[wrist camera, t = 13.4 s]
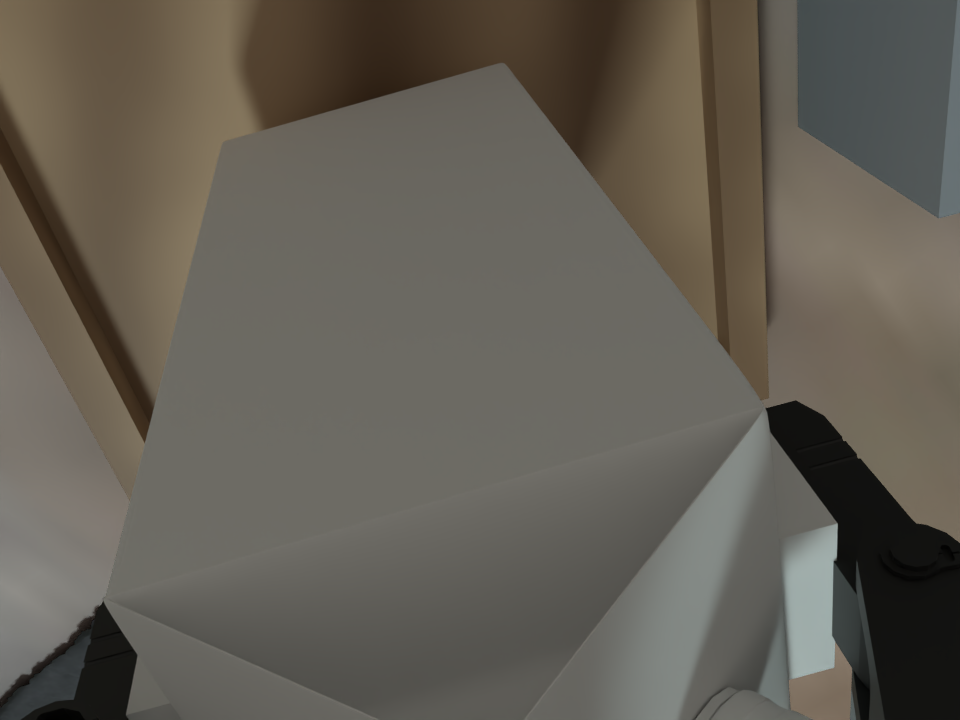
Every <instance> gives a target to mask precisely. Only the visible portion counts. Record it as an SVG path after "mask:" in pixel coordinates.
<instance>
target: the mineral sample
mask: <svg viewBox="0 0 960 720" xmlns="http://www.w3.org/2000/svg"><path fill="white" fill-rule="evenodd" d="M93 624H94V620H93V621H92V625H91V627H92V628H93ZM92 628H91V629H86V631H82V634H80V635H79V636H78V638H77V639H76V640H75V641H74V643H75V645H73V646H71V647H70V648H69V649H68V650H67V651H66V654H63V655H60V656H58V658H56V659H54V660H53V661H51V662H52V663H51V664H49V665H48V666H45V668H43V670H42V672H40V673H38V674H34V678H31V679H30V680H29V682H30V684H29V685H26V686H22V687H19V688H18V689H17V690H16V691H15V692H14V693H13V694H12V695H13V696H12V697H9V698H7V699H8V700H9V701H8V702H7V703H5V704H4V705H2V707H1V708H0V720H21V719H22V718H24V717H25V716H26V715H28V714H29V713H31V712H32V711H34V710H35V709H38V708H40V707H43V706H45V705H48V704H50V703H53V702H55V701H63V700H74V697H75V693H76V689H77V685H78V682H79V678H80V674H81V670H82V668H84V663H83V662H84V659H85V655H86V651H87V647H88V645H90V636H91V632H92Z"/></svg>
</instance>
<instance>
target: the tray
mask: <svg viewBox="0 0 960 720" xmlns="http://www.w3.org/2000/svg"><path fill="white" fill-rule="evenodd" d="M498 63H504V64H506V65H507V66H508V68H509V69H510V70H511V72H512V73H513V74H514V75H515V77H516V78H517V79H518V81H519V82H520V83H521V85H522V86H523V87H524V89H525V90H526V91H527V92H528V94H529V95H530V96H531V98H532V99H533V100H534V102H535V103H536V104H537V105H538V107H539V108H540V109H541V111H542V112H543V113H544V115H545V116H546V117H547V118H548V120H549V121H550V122H551V124H552V125H553V126H554V128H555V129H556V130H557V131H558V133H559V134H560V135H561V137H562V138H563V139H564V141H565V142H566V143H567V145H568V146H569V147H570V148H571V150H572V151H573V152H574V154H575V155H576V156H577V158H578V159H579V160H580V161H581V163H582V164H583V165H584V167H585V168H586V169H587V171H588V172H589V173H590V174H591V176H592V177H593V178H594V180H595V181H596V182H597V184H598V185H599V186H600V187H601V189H602V190H603V191H604V193H605V194H606V195H607V197H608V198H609V199H610V201H611V202H612V203H613V204H614V206H615V207H616V208H617V210H618V211H619V212H620V214H621V215H622V216H623V217H624V219H625V220H626V221H627V223H628V224H629V225H630V227H631V228H632V229H633V230H634V232H635V233H636V234H637V236H638V237H639V238H640V240H641V241H642V242H643V243H644V245H645V246H646V247H647V249H648V250H649V251H650V253H651V254H652V255H653V257H654V258H655V259H656V260H657V262H658V263H659V264H660V266H661V267H662V268H663V270H664V271H665V272H666V273H667V275H668V276H669V277H670V279H671V280H672V281H673V283H674V284H675V285H676V286H677V288H678V289H679V290H680V292H681V293H682V294H683V296H684V297H685V298H686V299H687V301H688V302H689V303H690V305H691V306H692V307H693V309H694V310H695V311H696V313H697V314H698V315H699V316H700V318H701V319H702V320H703V322H704V323H705V324H706V326H707V327H708V328H709V329H710V331H711V332H712V333H713V335H714V336H715V337H716V339H717V340H718V341H719V343H720V344H721V345H722V347H723V348H724V349H725V350H726V352H727V353H728V354H729V356H730V357H731V359H732V360H733V361H734V363H735V364H736V365H737V367H738V368H739V369H740V371H741V372H742V373H743V375H744V376H745V378H746V379H747V380H748V382H749V383H750V385H751V386H752V388H753V389H754V390H755V392H756V394H757V395H758V397H759V398H760V400H764V399H768V398H769V386H768V352H767V318H766V284H765V250H764V216H763V182H762V148H761V113H760V79H759V45H758V11H757V0H0V266H1V268H2V270H3V272H4V274H5V276H6V277H7V279H8V281H9V283H10V285H11V286H12V288H13V290H14V292H15V294H16V295H17V297H18V299H19V301H20V303H21V305H22V306H23V308H24V310H25V312H26V314H27V315H28V317H29V319H30V321H31V323H32V324H33V326H34V328H35V330H36V332H37V334H38V335H39V337H40V339H41V341H42V343H43V344H44V346H45V348H46V350H47V352H48V353H49V355H50V357H51V359H52V361H53V363H54V364H55V366H56V368H57V370H58V372H59V373H60V375H61V377H62V379H63V381H64V382H65V384H66V386H67V388H68V390H69V391H70V393H71V395H72V397H73V399H74V401H75V402H76V404H77V406H78V408H79V410H80V411H81V413H82V415H83V417H84V419H85V420H86V422H87V424H88V426H89V428H90V430H91V431H92V433H93V435H94V437H95V439H96V440H97V442H98V444H99V446H100V448H101V449H102V451H103V453H104V455H105V457H106V459H107V460H108V462H109V464H110V466H111V468H112V469H113V471H114V473H115V475H116V477H117V478H118V480H119V482H120V484H121V486H122V488H123V489H124V491H125V493H126V495H127V497H128V498H129V500H130V499H131V495H132V492H133V488H134V484H135V480H136V476H137V472H138V468H139V464H140V460H141V457H142V453H143V449H144V445H145V441H146V437H147V433H148V429H149V425H150V422H151V418H152V414H153V410H154V406H155V402H156V398H157V394H158V390H159V386H160V383H161V379H162V375H163V371H164V367H165V363H166V359H167V355H168V351H169V348H170V344H171V340H172V336H173V332H174V328H175V324H176V320H177V316H178V312H179V309H180V305H181V301H182V297H183V293H184V289H185V285H186V281H187V277H188V274H189V270H190V266H191V262H192V258H193V254H194V250H195V246H196V242H197V238H198V235H199V231H200V227H201V223H202V219H203V215H204V211H205V207H206V203H207V200H208V196H209V192H210V188H211V184H212V180H213V176H214V172H215V168H216V164H217V161H218V157H219V153H220V149H221V146H222V143H223V142H225V141H227V140H231V139H234V138H238V137H241V136H245V135H248V134H252V133H255V132H259V131H262V130H266V129H269V128H273V127H276V126H280V125H283V124H287V123H290V122H294V121H297V120H301V119H304V118H308V117H311V116H315V115H318V114H322V113H325V112H329V111H332V110H336V109H340V108H343V107H347V106H350V105H354V104H357V103H361V102H364V101H368V100H371V99H375V98H378V97H382V96H385V95H389V94H392V93H396V92H399V91H403V90H406V89H410V88H413V87H417V86H420V85H424V84H427V83H431V82H435V81H438V80H442V79H445V78H449V77H452V76H456V75H459V74H463V73H466V72H470V71H473V70H477V69H480V68H484V67H487V66H491V65H494V64H498Z"/></svg>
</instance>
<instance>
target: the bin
mask: <svg viewBox="0 0 960 720" xmlns="http://www.w3.org/2000/svg"><path fill="white" fill-rule="evenodd" d="M798 127H799V128H801V129H803V130H804V131H806V132H807V133H809V134H810V135H812V136H813V137H815V138H816V139H818V140H819V141H821V142H822V143H824V144H826V145H827V146H829V147H830V148H832V149H833V150H835V151H836V152H838V153H839V154H841V155H842V156H844V157H845V158H847V159H848V160H850V161H852V162H853V163H855V164H856V165H858V166H859V167H861V168H862V169H864V170H865V171H867V172H868V173H870V174H871V175H873V176H875V177H876V178H878V179H879V180H881V181H882V182H884V183H885V184H887V185H888V186H890V187H891V188H893V189H894V190H896V191H897V192H899V193H901V194H902V195H904V196H905V197H907V198H908V199H910V200H911V201H913V202H914V203H916V204H917V205H919V206H920V207H922V208H924V209H925V210H927V211H928V212H930V213H931V214H933V215H934V216H936V217H937V218H942V217H946V216H949V215H953V214H957V213H960V0H798Z"/></svg>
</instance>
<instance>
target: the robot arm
mask: <svg viewBox="0 0 960 720" xmlns="http://www.w3.org/2000/svg"><path fill="white" fill-rule="evenodd" d="M765 409H766V411H767V414H768V421H769V428H770V438H771V447H772V457H773V468H774V480H775V492H776V503H777V519H778V535H779V550H780V565H781V580H782V595H783V609H784V624H785V638H786V653H787V667H788V680H790V679H794V678H797V677H801V676H805V675H808V674H812V673H816V672H819V671H823V670H827V669H830V668H834V658H835V642H836V643H837V645H838V646H839V648H840V649H841V651H842V653H843V654H844V656H845V657H846V659H847V661H848V662H849V664H850V665H851V667H852V687H851V712H850V720H960V543H959V542H958V541H956V540H955V539H954V538H952V537H951V536H950V535H948V534H947V533H945V532H943V531H940V530H938V529H935V528H933V527H930V526H928V525H923V524H916V523H915V522H914V521H913V520H912V519H911V518H910V517H909V515H908V514H907V513H906V512H905V511H904V509H903V508H902V507H901V506H900V505H899V504H898V502H897V501H896V500H895V499H894V498H893V496H892V495H891V494H890V493H889V492H888V491H887V489H886V488H885V487H884V486H883V485H882V483H881V482H880V481H879V480H878V479H877V478H876V476H875V475H874V474H873V473H872V472H871V471H870V469H869V468H868V467H867V466H866V465H865V463H864V462H863V461H862V460H861V459H858V458H857V454H856V453H855V452H854V450H853V449H852V448H851V447H850V446H849V445H848V443H847V442H846V441H843V439H842V436H841V435H840V434H839V433H838V432H837V430H836V429H835V428H834V427H833V426H832V424H831V423H830V422H829V421H828V420H827V419H826V417H825V416H824V415H822V414H820V413H818V412H816V411H814V410H813V409H811V408H809V407H807V406H805V405H803V404H801V403H800V402H798V401H792V402H788V403H784V404H781V405H777V406H773V407H769V408H765ZM83 663H84V668H82V670H81V674H80V678H79V682H78V685H77V689H76V693H75V697H74V700H63V701H55V702H53V703H50V704H48V705H45V706H43V707H40V708H38V709H35V710H34V711H32V712H31V713H29V714H28V715H26V716H25V717H24V718H22V719H21V720H181V718H180V717H179V715H178V714H177V712H176V711H175V709H174V708H173V706H172V705H171V703H170V702H169V700H168V699H167V697H166V696H165V695H164V693H163V692H162V690H161V689H160V687H159V686H158V684H157V683H156V681H155V680H154V678H153V677H152V675H151V674H150V672H149V671H148V669H147V668H146V667H145V665H144V664H143V662H142V661H141V659H140V658H139V656H138V655H137V653H136V652H135V650H134V649H133V647H132V646H131V644H130V643H129V641H128V640H127V638H126V637H125V635H124V634H123V632H122V631H121V629H120V628H119V626H118V625H117V623H116V622H115V620H114V618H113V617H112V615H111V614H110V612H109V610H108V609H107V607H106V605H105V603H104V601H103V603H102V604H101V606H100V607H99V609H98V610H97V613H96V617H95V620H94V624H93V628H92V632H91V636H90V645H88V647H87V651H86V655H85V659H84V662H83Z"/></svg>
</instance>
